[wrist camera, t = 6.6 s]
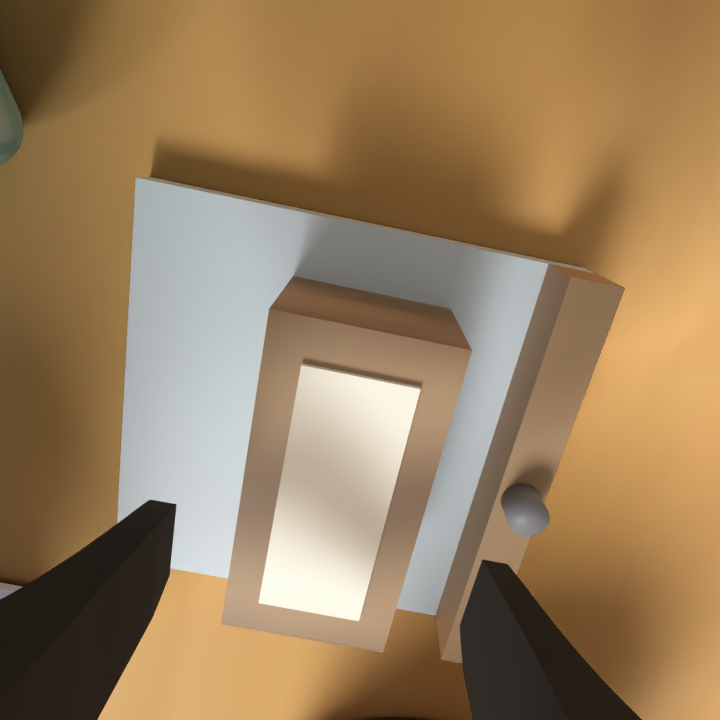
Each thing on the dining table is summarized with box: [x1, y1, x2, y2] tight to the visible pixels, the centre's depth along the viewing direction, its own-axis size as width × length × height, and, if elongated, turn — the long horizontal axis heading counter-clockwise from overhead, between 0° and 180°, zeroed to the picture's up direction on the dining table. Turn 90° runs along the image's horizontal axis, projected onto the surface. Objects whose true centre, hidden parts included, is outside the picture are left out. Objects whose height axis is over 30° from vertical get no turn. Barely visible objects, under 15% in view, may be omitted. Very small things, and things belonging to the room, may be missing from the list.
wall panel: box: [117, 177, 625, 664], centre depth 18 cm, size 14×14×4 cm
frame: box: [221, 276, 472, 653], centre depth 17 cm, size 10×5×4 cm, turn 168°
